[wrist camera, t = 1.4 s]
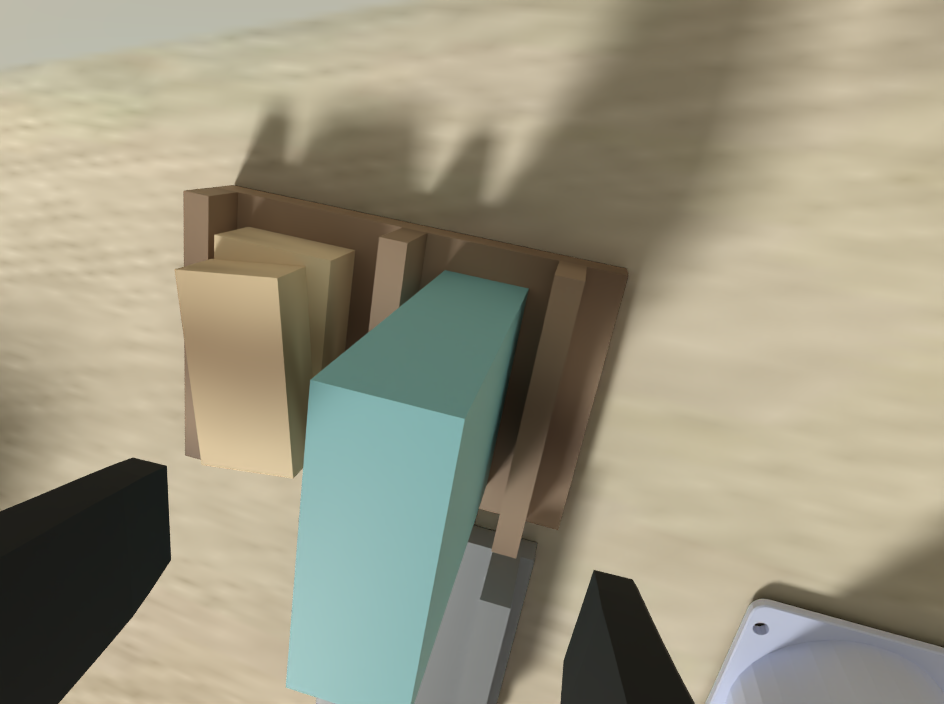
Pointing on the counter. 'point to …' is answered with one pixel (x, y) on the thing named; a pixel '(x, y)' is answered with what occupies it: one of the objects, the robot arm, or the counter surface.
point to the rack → (408, 271)
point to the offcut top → (248, 362)
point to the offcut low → (324, 281)
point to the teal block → (396, 487)
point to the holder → (477, 624)
